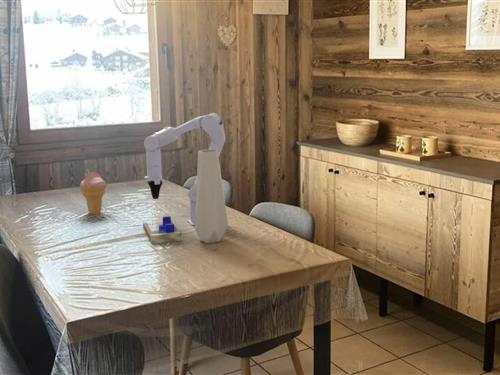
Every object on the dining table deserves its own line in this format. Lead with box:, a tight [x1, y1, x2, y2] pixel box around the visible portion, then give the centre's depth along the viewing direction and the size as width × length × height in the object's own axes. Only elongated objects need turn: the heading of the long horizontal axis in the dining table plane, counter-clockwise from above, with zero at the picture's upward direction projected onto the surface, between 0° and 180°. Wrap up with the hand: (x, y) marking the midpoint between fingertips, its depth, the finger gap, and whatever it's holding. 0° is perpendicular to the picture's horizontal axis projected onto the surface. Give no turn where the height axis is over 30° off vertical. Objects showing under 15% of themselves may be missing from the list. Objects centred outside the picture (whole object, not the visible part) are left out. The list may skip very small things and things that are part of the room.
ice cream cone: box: [79, 165, 107, 215], centre depth 259 cm, size 11×11×20 cm
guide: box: [142, 220, 183, 244], centre depth 229 cm, size 11×22×3 cm, turn 17°
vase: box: [194, 148, 229, 244], centre depth 218 cm, size 12×12×33 cm
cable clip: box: [158, 215, 175, 234], centre depth 226 cm, size 12×4×6 cm, turn 14°
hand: (155, 198), depth 245 cm, fingers closed
